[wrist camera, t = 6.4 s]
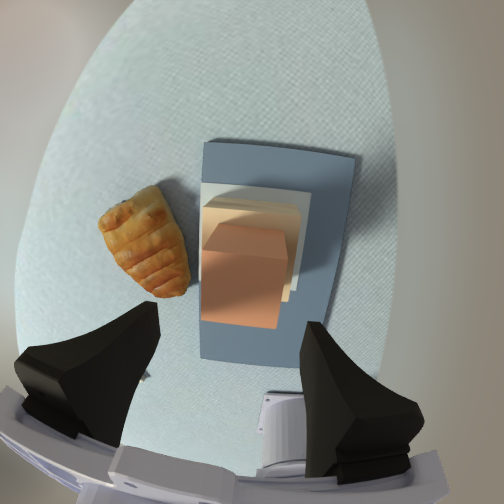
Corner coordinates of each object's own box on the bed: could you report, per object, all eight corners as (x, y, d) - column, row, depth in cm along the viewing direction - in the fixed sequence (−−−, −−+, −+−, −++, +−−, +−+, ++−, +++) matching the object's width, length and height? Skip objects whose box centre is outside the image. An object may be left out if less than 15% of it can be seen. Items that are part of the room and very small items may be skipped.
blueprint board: (308, 363, 26) (309, 369, 25) (202, 353, 27) (200, 358, 26) (352, 158, 19) (355, 159, 18) (206, 142, 19) (203, 141, 18)
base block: (285, 278, 22) (288, 301, 19) (210, 271, 22) (201, 292, 19) (296, 204, 20) (301, 216, 16) (213, 196, 20) (202, 206, 16)
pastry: (213, 274, 23) (204, 297, 20) (154, 299, 25) (139, 322, 21) (159, 176, 20) (138, 183, 17) (103, 214, 22) (78, 227, 18)
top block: (275, 288, 18) (276, 329, 14) (215, 281, 18) (200, 320, 14) (283, 230, 17) (288, 259, 13) (218, 223, 17) (201, 250, 13)
